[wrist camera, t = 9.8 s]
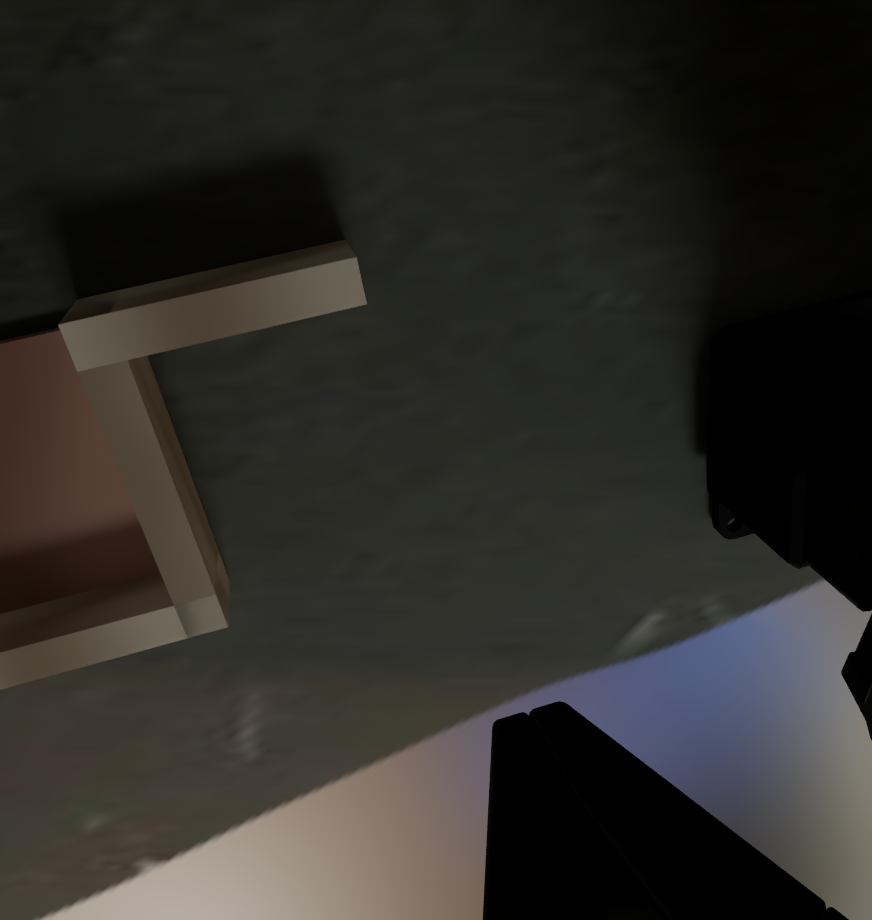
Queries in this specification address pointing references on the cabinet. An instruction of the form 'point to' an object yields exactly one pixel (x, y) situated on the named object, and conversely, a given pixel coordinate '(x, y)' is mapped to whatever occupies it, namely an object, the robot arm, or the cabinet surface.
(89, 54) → the cabinet surface
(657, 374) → the cabinet surface
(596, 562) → the cabinet surface
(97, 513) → the box
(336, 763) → the cabinet surface
